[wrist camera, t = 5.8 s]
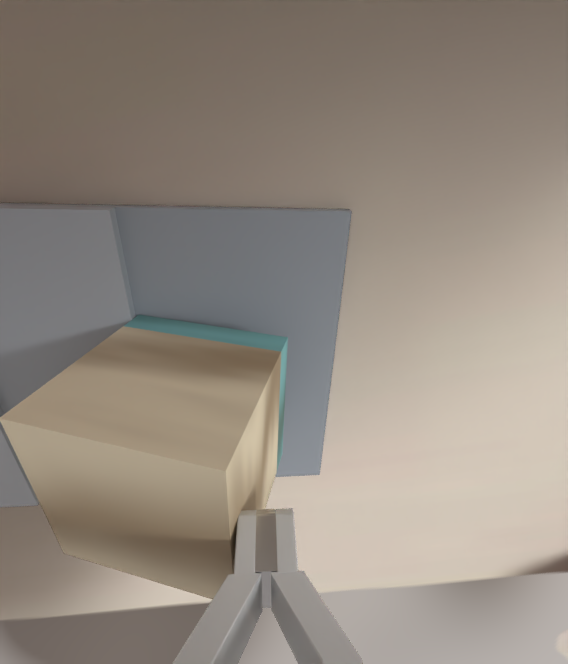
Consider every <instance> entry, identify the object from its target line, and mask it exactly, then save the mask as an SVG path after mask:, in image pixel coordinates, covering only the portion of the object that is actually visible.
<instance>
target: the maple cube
mask: <svg viewBox="0 0 568 664" xmlns="http://www.w3.org/2000/svg"><path fill="white" fill-rule="evenodd" d="M287 346H288V337H283V336H276V335H270V334H263V333H257V332H250V331H244V330H237V329H230V328H224V327H217V326H211V325H204V324H198V323H191V322H185V321H178V320H172V319H165V318H159V317H152V316H146V315H138V316H136V317H135V318H134V319H132V320H131V321H130V322H128V323H127V324H126V325H124V326H123V327H122V328H120V329H119V330H117V331H116V332H115V333H113V334H112V335H111V336H109V337H108V338H107V339H105V340H104V341H103V342H101V343H100V344H99V345H97V346H96V347H95V348H93V349H92V350H90V351H89V352H88V353H86V354H85V355H84V356H82V357H81V358H80V359H78V360H77V361H76V362H74V363H73V364H72V365H70V366H69V367H68V368H66V369H65V370H63V371H62V372H61V373H59V374H58V375H57V376H55V377H54V378H53V379H51V380H50V381H49V382H47V383H46V384H45V385H43V386H42V387H41V388H39V389H38V390H36V391H35V392H34V393H32V394H31V395H30V396H28V397H27V398H26V399H24V400H23V401H22V402H20V403H19V404H18V405H16V406H15V407H14V408H12V409H11V410H9V411H8V412H7V413H5V414H4V415H3V416H1V417H0V422H1V424H2V426H3V428H4V430H5V432H6V434H7V436H8V438H9V440H10V442H11V445H12V447H13V449H14V451H15V453H16V455H17V457H18V459H19V461H20V463H21V465H22V467H23V469H24V472H25V474H26V476H27V478H28V480H29V482H30V484H31V486H32V488H33V490H34V492H35V494H36V496H37V499H38V501H39V503H40V505H41V507H42V509H43V511H44V513H45V515H46V517H47V519H48V521H49V523H50V526H51V528H52V530H53V532H54V534H55V536H56V538H57V540H58V542H59V544H60V546H61V548H62V550H63V553H64V554H67V555H70V556H74V557H77V558H80V559H83V560H87V561H90V562H93V563H96V564H100V565H103V566H106V567H109V568H113V569H116V570H119V571H122V572H126V573H129V574H132V575H135V576H139V577H142V578H145V579H148V580H152V581H155V582H158V583H161V584H165V585H168V586H171V587H174V588H178V589H181V590H184V591H187V592H191V593H194V594H197V595H200V596H204V597H207V598H210V599H213V598H214V596H215V595H216V593H217V592H218V590H219V588H220V587H221V585H222V584H223V582H224V580H225V579H226V577H227V576H228V574H234V563H235V548H236V534H237V519H238V516H239V514H240V512H241V511H244V510H262V509H265V508H266V504H267V501H268V498H269V495H270V492H271V488H272V485H273V482H274V479H275V476H276V472H277V469H278V466H279V463H280V460H281V456H282V450H283V429H284V408H285V388H286V367H287Z"/></svg>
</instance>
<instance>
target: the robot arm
mask: <svg viewBox="0 0 568 664" xmlns="http://www.w3.org/2000/svg"><path fill="white" fill-rule="evenodd" d="M262 608H271V610H272V612H273V614H274V616H275V618H276V620H277V622H278V624H279V626H280V628H281V630H282V632H283V634H284V636H285V638H286V640H287V642H288V644H289V646H290V648H291V650H292V652H293V654H294V656H295V658H296V660H297V662H298V664H363V662H362V658H361V657H360V655H359V654H358V653H357V651H356V649H355V648H354V646H353V645H352V644H351V642H350V640H349V639H348V637H347V636H346V634H345V633H344V631H343V630H342V628H341V627H340V625H339V624H338V622H337V621H336V619H335V618H334V616H333V615H332V613H331V612H330V610H329V609H328V607H327V606H326V604H325V603H324V601H323V600H322V598H321V596H320V595H319V593H318V592H317V590H316V589H315V587H314V586H313V584H312V583H311V581H310V580H309V578H308V577H307V575H306V574H305V572H304V571H298V561H297V548H296V535H295V522H294V512H293V508H289V509H276V510H275V509H262V510H244V511H241V512H240V514H239V516H238V519H237V534H236V548H235V563H234V574H228V576H227V577H226V579H225V580H224V582H223V584H222V585H221V587H220V588H219V590H218V592H217V593H216V595H215V596H214V598H213V600H212V601H211V603H210V604H209V606H208V608H207V609H206V611H205V612H204V614H203V616H202V617H201V619H200V621H199V622H198V624H197V625H196V627H195V628H194V630H193V632H192V633H191V635H190V636H189V638H188V639H187V641H186V643H185V644H184V646H183V647H182V649H181V651H180V652H179V654H178V656H177V657H176V659H175V660H174V662H173V663H172V664H238V662H239V660H240V658H241V655H242V654H243V651H244V649H245V647H246V645H247V643H248V641H249V639H250V636H251V634H252V632H253V630H254V628H255V626H256V623H257V621H258V619H259V617H260V615H261V613H262Z"/></svg>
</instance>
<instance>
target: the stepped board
mask: <svg viewBox="0 0 568 664" xmlns="http://www.w3.org/2000/svg"><path fill="white" fill-rule="evenodd" d="M351 213H352V211H350V210H349V209H306V208H251V207H196V206H141V205H87V204H32V203H0V417H1V416H3V415H4V414H5V413H7V412H8V411H9V410H11V409H12V408H14V407H15V406H16V405H18V404H19V403H20V402H22V401H23V400H24V399H26V398H27V397H28V396H30V395H31V394H32V393H34V392H35V391H36V390H38V389H39V388H41V387H42V386H43V385H45V384H46V383H47V382H49V381H50V380H51V379H53V378H54V377H55V376H57V375H58V374H59V373H61V372H62V371H63V370H65V369H66V368H68V367H69V366H70V365H72V364H73V363H74V362H76V361H77V360H78V359H80V358H81V357H82V356H84V355H85V354H86V353H88V352H89V351H90V350H92V349H93V348H95V347H96V346H97V345H99V344H100V343H101V342H103V341H104V340H105V339H107V338H108V337H109V336H111V335H112V334H113V333H115V332H116V331H117V330H119V329H120V328H122V327H123V326H124V325H126V324H127V323H128V322H130V321H131V320H132V319H134V318H135V317H136V316H138V315H146V316H152V317H159V318H165V319H172V320H178V321H185V322H191V323H198V324H204V325H211V326H217V327H224V328H230V329H237V330H244V331H250V332H257V333H263V334H270V335H276V336H283V337H288V346H287V367H286V388H285V408H284V429H283V450H282V456H281V460H280V463H279V466H278V469H277V472H276V476H275V477H284V476H305V475H320V467H321V459H322V451H323V442H324V434H325V426H326V418H327V410H328V401H329V393H330V385H331V377H332V369H333V360H334V352H335V344H336V336H337V328H338V320H339V311H340V303H341V295H342V287H343V279H344V270H345V262H346V254H347V246H348V238H349V229H350V221H351ZM37 505H39V501H38V499H37V496H36V494H35V492H34V490H33V488H32V486H31V484H30V482H29V480H28V478H27V476H26V474H25V472H24V469H23V467H22V465H21V463H20V461H19V459H18V457H17V455H16V453H15V451H14V449H13V447H12V445H11V442H10V440H9V438H8V436H7V434H6V432H5V430H4V428H3V426H2V424H1V422H0V507H17V506H37Z"/></svg>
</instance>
